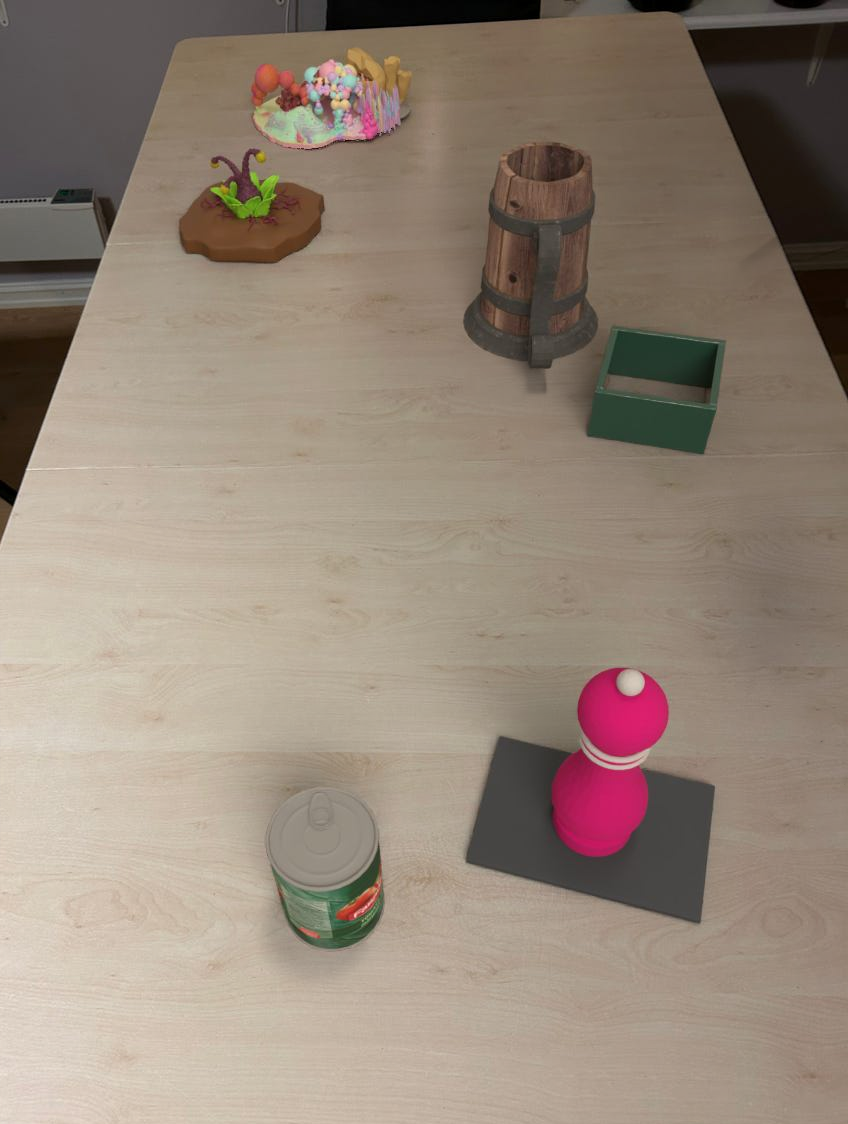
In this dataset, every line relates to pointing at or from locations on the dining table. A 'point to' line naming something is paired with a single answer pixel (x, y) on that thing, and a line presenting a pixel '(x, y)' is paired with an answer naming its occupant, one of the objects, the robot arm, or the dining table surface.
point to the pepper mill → (609, 762)
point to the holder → (650, 414)
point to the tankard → (537, 257)
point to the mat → (625, 876)
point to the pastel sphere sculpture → (331, 101)
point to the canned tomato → (327, 867)
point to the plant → (251, 216)
